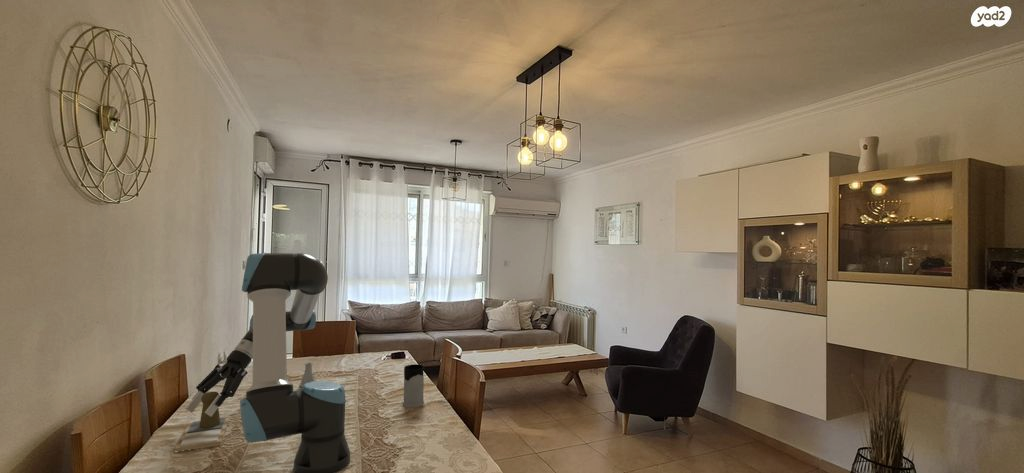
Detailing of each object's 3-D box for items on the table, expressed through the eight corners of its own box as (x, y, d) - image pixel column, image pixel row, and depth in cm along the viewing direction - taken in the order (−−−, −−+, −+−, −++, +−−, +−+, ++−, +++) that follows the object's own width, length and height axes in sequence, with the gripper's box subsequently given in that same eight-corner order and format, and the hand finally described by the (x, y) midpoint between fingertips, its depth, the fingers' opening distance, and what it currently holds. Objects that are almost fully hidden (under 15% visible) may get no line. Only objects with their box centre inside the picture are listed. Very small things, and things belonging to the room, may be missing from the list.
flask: (299, 384, 203) (300, 362, 203) (316, 382, 206) (317, 360, 206) (299, 388, 196) (299, 366, 196) (316, 386, 199) (317, 364, 199)
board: (221, 445, 140) (221, 440, 140) (174, 452, 134) (174, 447, 134) (229, 420, 159) (229, 416, 159) (189, 426, 154) (189, 421, 154)
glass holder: (407, 409, 173) (408, 370, 173) (394, 399, 184) (394, 363, 185) (428, 404, 178) (428, 367, 178) (413, 395, 189) (414, 360, 190)
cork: (216, 419, 156) (217, 388, 156) (223, 424, 152) (223, 392, 152) (196, 425, 151) (197, 393, 151) (202, 429, 147) (203, 396, 147)
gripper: (215, 346, 165) (168, 403, 150) (258, 351, 158) (213, 411, 143) (228, 357, 170) (184, 413, 155) (270, 363, 163) (228, 422, 147)
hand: (198, 412), depth 149 cm, fingers open, 9 cm apart
